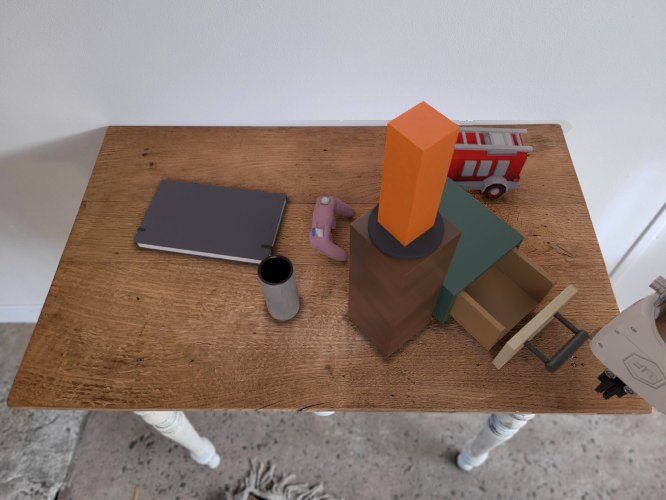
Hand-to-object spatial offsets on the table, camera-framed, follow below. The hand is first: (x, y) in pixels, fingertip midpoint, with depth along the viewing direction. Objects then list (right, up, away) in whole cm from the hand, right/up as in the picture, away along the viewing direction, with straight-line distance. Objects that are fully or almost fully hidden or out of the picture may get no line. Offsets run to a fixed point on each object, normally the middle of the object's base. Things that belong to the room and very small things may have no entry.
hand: (607, 386), depth 57 cm
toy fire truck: (-12, +28, +24) cm, 39 cm away
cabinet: (-17, +14, +15) cm, 27 cm away
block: (-25, +19, -9) cm, 33 cm away
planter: (-39, +8, +12) cm, 42 cm away
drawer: (-9, +7, +9) cm, 15 cm away
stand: (-25, +6, +10) cm, 28 cm away
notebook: (-51, +20, +20) cm, 59 cm away
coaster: (-25, +18, -8) cm, 32 cm away
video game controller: (-32, +18, +18) cm, 42 cm away
